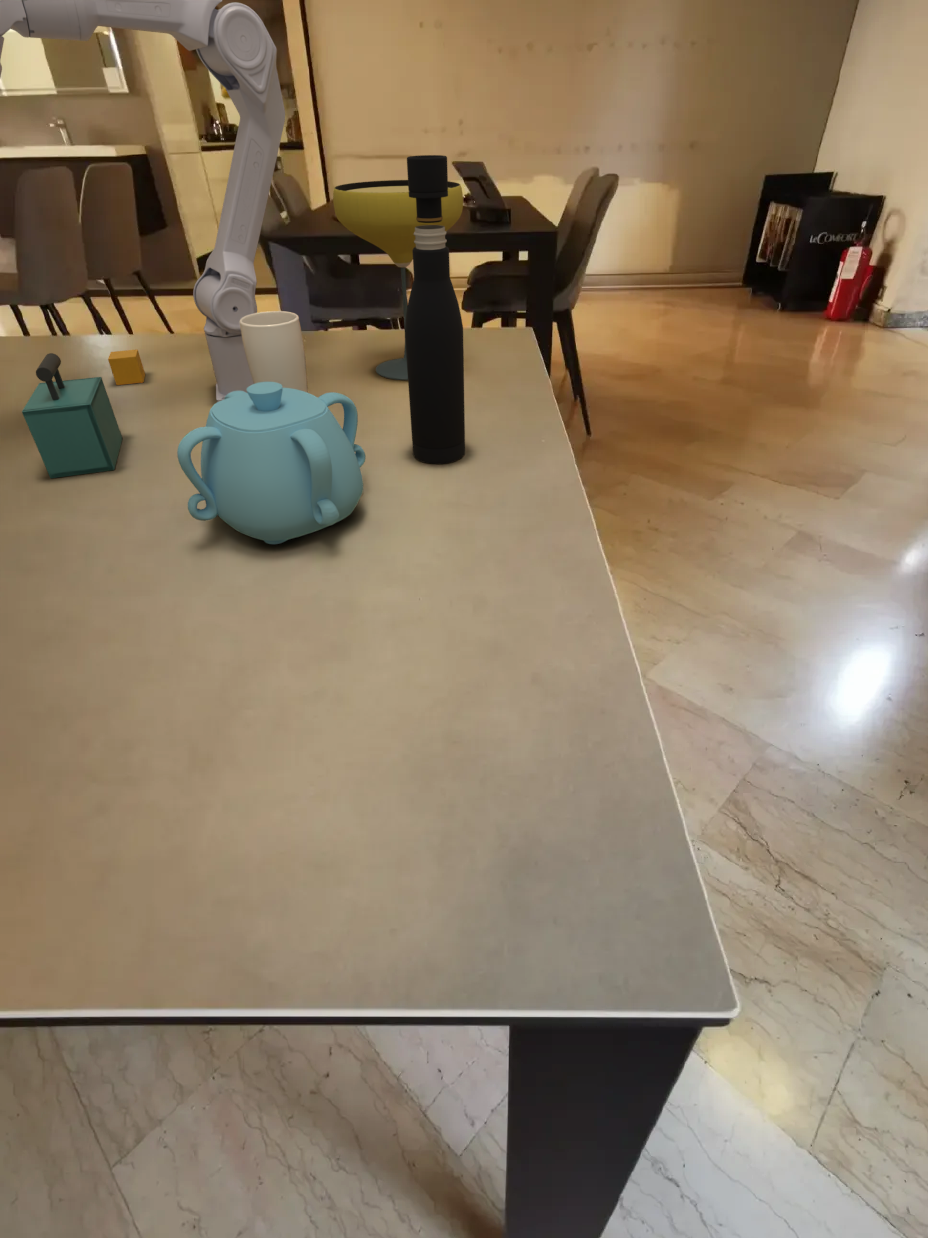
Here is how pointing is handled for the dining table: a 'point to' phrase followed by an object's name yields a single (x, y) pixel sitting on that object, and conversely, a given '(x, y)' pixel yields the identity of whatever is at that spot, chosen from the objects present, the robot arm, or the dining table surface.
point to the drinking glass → (275, 348)
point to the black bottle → (433, 325)
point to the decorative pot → (275, 462)
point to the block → (126, 367)
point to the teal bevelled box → (72, 423)
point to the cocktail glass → (390, 230)
